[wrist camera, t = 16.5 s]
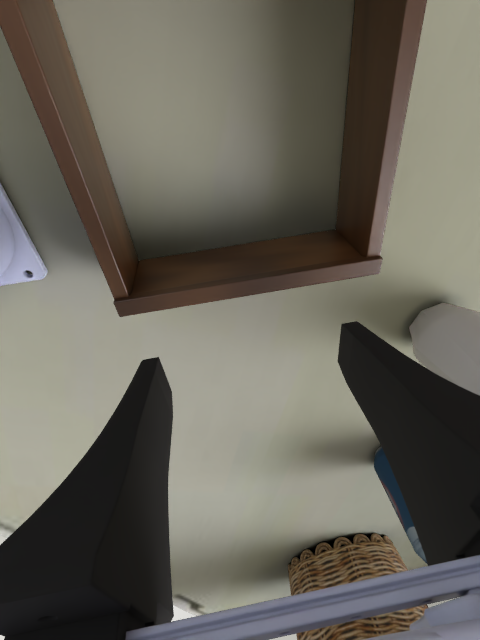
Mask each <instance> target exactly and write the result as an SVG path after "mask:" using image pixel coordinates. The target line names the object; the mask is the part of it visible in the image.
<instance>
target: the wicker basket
mask: <svg viewBox="0 0 480 640" xmlns="http://www.w3.org/2000/svg"><path fill="white" fill-rule="evenodd" d="M359 537H360V538H359ZM374 537H375V538H374ZM339 541H340V542H339ZM360 541H363V542H364V543H360ZM377 541H378V542H377ZM342 544H344V545H346V546H342V547H340V546H341V545H342ZM325 546H326V547H325ZM327 547H328V548H329V549H328V548H327ZM323 550H326V551H325V552H322V551H323ZM321 552H322V553H321ZM308 553H309V554H308ZM307 557H309V558H308V559H306V558H307ZM403 571H408V569H407V568H406V566H405V564H404V562H403V560H402V559H401V557H400V555H399V553H398V551H397V550H396V548H395V546H394V545H393V543H392V541H391V540H390V539H389V538H388V537H387V536H383V538H382V537H381V536H380V535H378V534H376V533H374V534H372V535H371V541H370V540H369V538H368V537H367V536H365V535H363V534H357V535H355V536H354V539H353V544H352V543H351V541H350V540H349V539H347V538H345V537H339V538H337V539H336V540H335V542H334V549H332V547H331V546H330V545H329V544H328V543H325V542H322V543H319V544H318V545H317V547H316V549H315V556H314V554H313V552H312V551H310V550H308V549H306V550H304V551H303V552H302V554H301V557H300V560H299V559H298V558H297V557H294V558H293V559H292V562H291V564H288V572H289V581H290V589H291V596H293V595H297V594H302V593H306V592H311V591H316V590H320V589H325V588H329V587H334V586H339V585H343V584H348V583H352V582H357V581H362V580H366V579H371V578H375V577H380V576H385V575H389V574H394V573H399V572H403ZM427 608H428V606H427V604H426V605H422V606H417V607H413V608H408V609H404V610H399V611H395V612H390V613H386V614H381V615H377V616H372V617H368V618H363V619H359V620H354V621H350V622H345V623H341V624H336V625H332V626H327V627H323V628H318V629H314V630H309V631H305V632H300V633H296V634H297V640H363V639H368V638H372V637H377V636H382V635H387V634H393V633H398V632H404V631H409V630H410V628H409V627H410V624H412V623H413V622H415V621H417V620H419V619H420V618H421V617H422V616H423V615H424V611H425V609H427Z"/></svg>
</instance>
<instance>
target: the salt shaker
mask: <svg viewBox="0 0 480 640" xmlns="http://www.w3.org/2000/svg"><path fill="white" fill-rule="evenodd" d="M409 330H410V334H411V337H412V343H413V353H414V355H415V357H416V358H417V359H418V360H419V361H420V362H421V363H422V364H423V365H424V366H425V367H426V368H428V369H429V370H430V371H432V372H434V373H435V374H437V375H439V376H441V377H443V378H445V379H447V380H448V381H450V382H452V383H454V384H456V385H458V386H460V387H462V388H464V389H466V390H468V391H471V392H473V393H475V394H477V395H480V313H479V312H477V311H474V310H471V309H467V308H463V307H459V306H455V305H451V304H447V303H441V304H438V305H435V306H433V307H430V308H427V309H425V310H422V311H421V312H420V313H419V315H418V316H417V317H416V319H415V320H414V321H413V323H412V324H411V325H410V327H409Z"/></svg>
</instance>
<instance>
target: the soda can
mask: <svg viewBox="0 0 480 640" xmlns="http://www.w3.org/2000/svg"><path fill="white" fill-rule="evenodd" d="M374 468H375V471H376V473H377V475H378V477H379V479H380V481H381V483H382V485H383V487H384V489H385V491H386V493H387V495H388V497H389V499H390V501H391V503H392V505H393V507H394V509H395V512H396V514H397V516H398V518H399V520H400V522H401V524H402V526H403V528H404V530H405V532H406V534H407V536H408V538H409V540H410V542H411V544H412V546H413V548H414V550H415V552H416V553H417V555H418V556H420V557H421V558H422V559H423V560H424V561H425V562H426V563H427V561H426V558H425V555H424V552H423V549H422V546H421V543H420V541H419V538H418V535H417V532H416V530H415V527H414V524H413V521H412V519H411V516H410V514H409V511H408V508H407V506H406V503H405V501H404V498H403V496H402V493H401V491H400V488H399V486H398V483H397V481H396V479H395V476H394V474H393V472H392V469H391V467H390V464H389V462H388V460H387V458H386V455H385V453H384V451H383V449H382V446H380V447H379V448H378V449H377V451H376V452H375V458H374Z"/></svg>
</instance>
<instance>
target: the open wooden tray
mask: <svg viewBox="0 0 480 640" xmlns="http://www.w3.org/2000/svg"><path fill="white" fill-rule="evenodd" d="M426 2H427V0H355V9H354V21H353V33H352V45H351V56H350V68H349V80H348V92H347V103H346V115H345V127H344V139H343V151H342V162H341V174H340V186H339V198H338V209H337V221H336V230H335V229H334V230H328V231H322V232H315V233H309V234H303V235H296V236H290V237H284V238H278V239H271V240H265V241H259V242H252V243H246V244H240V245H233V246H227V247H221V248H215V249H208V250H202V251H196V252H189V253H183V254H177V255H170V256H164V257H158V258H151V259H145V260H140V261H139V260H138V257H137V254H136V251H135V248H134V245H133V242H132V239H131V236H130V233H129V230H128V227H127V224H126V221H125V218H124V215H123V212H122V209H121V206H120V203H119V200H118V197H117V194H116V191H115V188H114V185H113V182H112V179H111V176H110V173H109V170H108V167H107V164H106V161H105V158H104V154H103V151H102V148H101V145H100V142H99V139H98V136H97V133H96V130H95V127H94V124H93V121H92V118H91V115H90V112H89V109H88V106H87V103H86V100H85V97H84V94H83V91H82V88H81V85H80V82H79V79H78V76H77V73H76V70H75V67H74V64H73V61H72V58H71V55H70V52H69V49H68V46H67V43H66V40H65V37H64V34H63V31H62V28H61V25H60V22H59V19H58V16H57V13H56V10H55V7H54V4H53V1H52V0H0V27H1V29H2V31H3V34H4V36H5V39H6V41H7V43H8V46H9V48H10V50H11V53H12V55H13V58H14V60H15V62H16V65H17V67H18V70H19V72H20V74H21V77H22V79H23V82H24V84H25V86H26V89H27V91H28V94H29V96H30V98H31V101H32V103H33V106H34V108H35V110H36V113H37V115H38V118H39V120H40V122H41V125H42V127H43V129H44V132H45V134H46V137H47V139H48V141H49V144H50V146H51V149H52V151H53V153H54V156H55V158H56V161H57V163H58V165H59V168H60V170H61V173H62V175H63V177H64V180H65V182H66V185H67V187H68V189H69V192H70V194H71V197H72V199H73V201H74V204H75V206H76V208H77V211H78V213H79V216H80V218H81V220H82V223H83V225H84V228H85V230H86V232H87V235H88V237H89V240H90V242H91V244H92V247H93V249H94V252H95V254H96V256H97V259H98V261H99V264H100V266H101V268H102V271H103V273H104V276H105V278H106V280H107V283H108V285H109V288H110V290H111V292H112V295H113V297H114V305H115V307H116V310H117V312H118V314H119V316H120V317H123V316H129V315H135V314H141V313H147V312H153V311H159V310H165V309H171V308H177V307H183V306H189V305H195V304H201V303H207V302H213V301H219V300H225V299H231V298H237V297H243V296H249V295H254V294H260V293H266V292H272V291H278V290H284V289H290V288H296V287H302V286H308V285H314V284H320V283H326V282H332V281H338V280H344V279H350V278H356V277H362V276H368V275H374V274H379V273H380V269H381V264H382V257H381V256H380V253H381V248H382V242H383V237H384V231H385V226H386V221H387V215H388V210H389V204H390V199H391V193H392V188H393V182H394V177H395V171H396V166H397V161H398V155H399V150H400V144H401V139H402V133H403V128H404V122H405V117H406V112H407V106H408V101H409V95H410V90H411V84H412V79H413V73H414V68H415V62H416V57H417V52H418V46H419V41H420V35H421V30H422V24H423V19H424V13H425V8H426Z"/></svg>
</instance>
